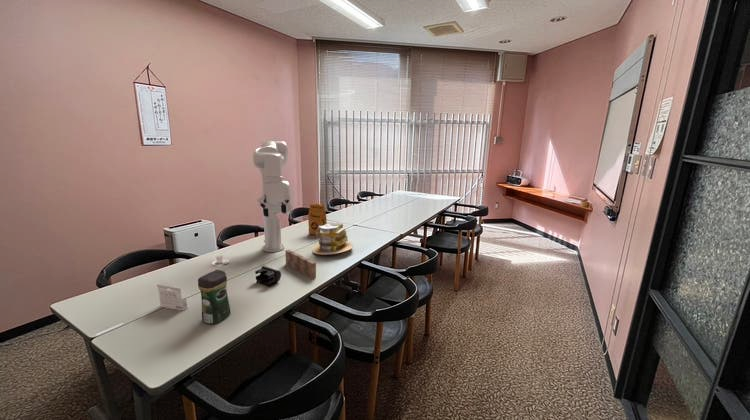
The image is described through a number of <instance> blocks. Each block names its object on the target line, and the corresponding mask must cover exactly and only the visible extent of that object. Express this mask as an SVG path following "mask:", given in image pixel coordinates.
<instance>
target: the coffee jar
mask: <svg viewBox="0 0 750 420" xmlns="http://www.w3.org/2000/svg"><path fill="white" fill-rule="evenodd" d="M227 284H228V278H227V274H226V272H225V270H221V269H215V270H212V271H210V272H208V273H206V274H204V275H202V276H200V277H199V278H198V279H197V287H198V289H199V291H200V295H201V296H200V297H201V320H202V322H203V323H206V324H208V325H215V324H218V323H220V322H221V321H223V320H224V319H226V318H227V317H229V315H231V307H230V301H229V296H228V291H227Z"/></svg>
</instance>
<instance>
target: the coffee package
mask: <svg viewBox="0 0 750 420" xmlns="http://www.w3.org/2000/svg"><path fill="white" fill-rule="evenodd" d="M307 216H308V217H307V218H308V219H307V220H308V221H307V222H308V234H309V235H315V236H316V233H317V232H318V231H317V228H318V226H323V225H325V224H327V213H326V208H325V205H324V204H320V203H311V202H310V203H309V210H308V215H307Z"/></svg>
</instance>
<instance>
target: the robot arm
mask: <svg viewBox="0 0 750 420" xmlns="http://www.w3.org/2000/svg"><path fill="white" fill-rule="evenodd" d="M288 154H289V147H288V144H287V143H286V142H285V141H283V140H266V141H263V142H262V143H261V146H260V147H259V148H257V149H255V150H254V151H253V154H252V159H253V160H252V162H253V165H254V167H256V168H257V169H259V171H260V173H261V180H262V183H261V184H262V196H261V197H259V198H258V199H257V203H258V204H259V206H260V207H261V211H262V215H263V217H262V218H263V230H264V231H263V232H264V239H263V243H264V245H263V246H262V251H264V252H266V253H277V252H280V251H282V250H284V249H285V245H284V244H283V243H282V229H281V227H282V226H281V224H282V223H281V219H280V218H279V216H277V214H278V215H279V214H284V215H285V214H289V213H291V212H292V211H293V201H292V200H293V197H292V189H291V184H290V182H289V181H288V180H284V179H285V177H284V176H282V174H283V173H282V167H283V166H284V165H286V164H287V162H288V157H289V156H288Z"/></svg>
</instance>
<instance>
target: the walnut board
mask: <svg viewBox="0 0 750 420" xmlns="http://www.w3.org/2000/svg"><path fill="white" fill-rule="evenodd" d="M285 264H286V265H287V266H289V267H290V268H292V269H294V270H295V271H298V272H299V273H301V274H303V275H305V276H307V277H308V278H310V279H312V280H314V279H316V278H317V262H315V261H313V260H311V259H309V258H307V257H305V256H303V255H301V254H298V252H295V251H293V250H291V249H285Z"/></svg>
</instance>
